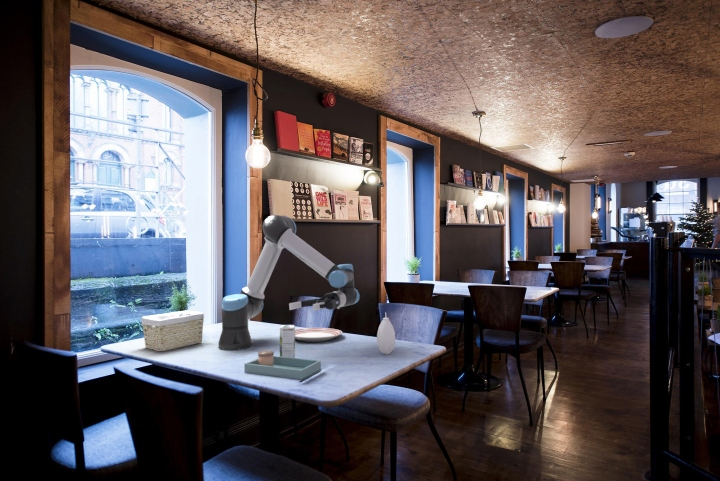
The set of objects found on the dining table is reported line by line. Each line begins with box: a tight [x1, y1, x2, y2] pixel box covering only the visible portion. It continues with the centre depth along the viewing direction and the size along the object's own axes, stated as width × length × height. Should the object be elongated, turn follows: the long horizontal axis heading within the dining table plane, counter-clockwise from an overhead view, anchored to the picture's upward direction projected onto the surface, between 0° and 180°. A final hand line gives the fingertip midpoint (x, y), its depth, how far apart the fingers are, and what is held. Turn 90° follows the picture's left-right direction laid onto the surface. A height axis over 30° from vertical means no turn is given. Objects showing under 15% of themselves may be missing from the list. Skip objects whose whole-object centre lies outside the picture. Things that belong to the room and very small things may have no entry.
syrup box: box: [279, 324, 296, 358], centre depth 189 cm, size 6×6×14 cm
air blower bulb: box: [376, 312, 396, 355], centre depth 201 cm, size 8×8×18 cm
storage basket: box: [141, 310, 205, 352], centre depth 221 cm, size 24×16×15 cm
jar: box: [257, 350, 275, 367], centre depth 176 cm, size 6×6×6 cm
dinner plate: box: [295, 327, 343, 343], centre depth 235 cm, size 28×27×3 cm
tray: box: [243, 355, 322, 383], centre depth 173 cm, size 24×14×4 cm, turn 66°
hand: (301, 307), depth 197 cm, fingers open, 13 cm apart
